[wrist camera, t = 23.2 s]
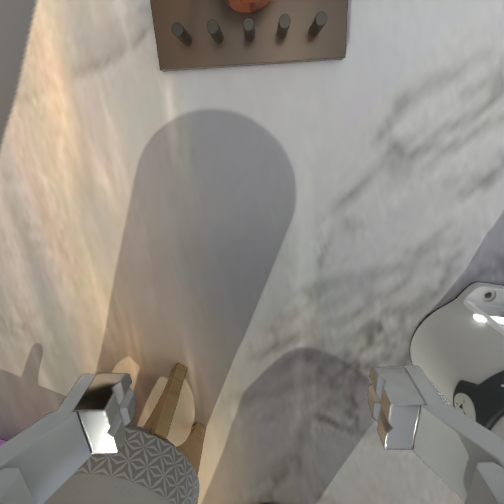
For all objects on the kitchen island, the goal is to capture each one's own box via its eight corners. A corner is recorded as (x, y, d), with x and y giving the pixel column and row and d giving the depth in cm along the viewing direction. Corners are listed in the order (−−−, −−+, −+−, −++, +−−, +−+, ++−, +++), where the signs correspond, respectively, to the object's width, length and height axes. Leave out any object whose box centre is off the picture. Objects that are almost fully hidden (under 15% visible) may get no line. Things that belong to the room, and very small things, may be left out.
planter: (236, 394, 50) (212, 652, 26) (174, 461, 56) (109, 720, 32) (125, 333, 46) (-23, 569, 22) (72, 412, 52) (-89, 664, 28)
